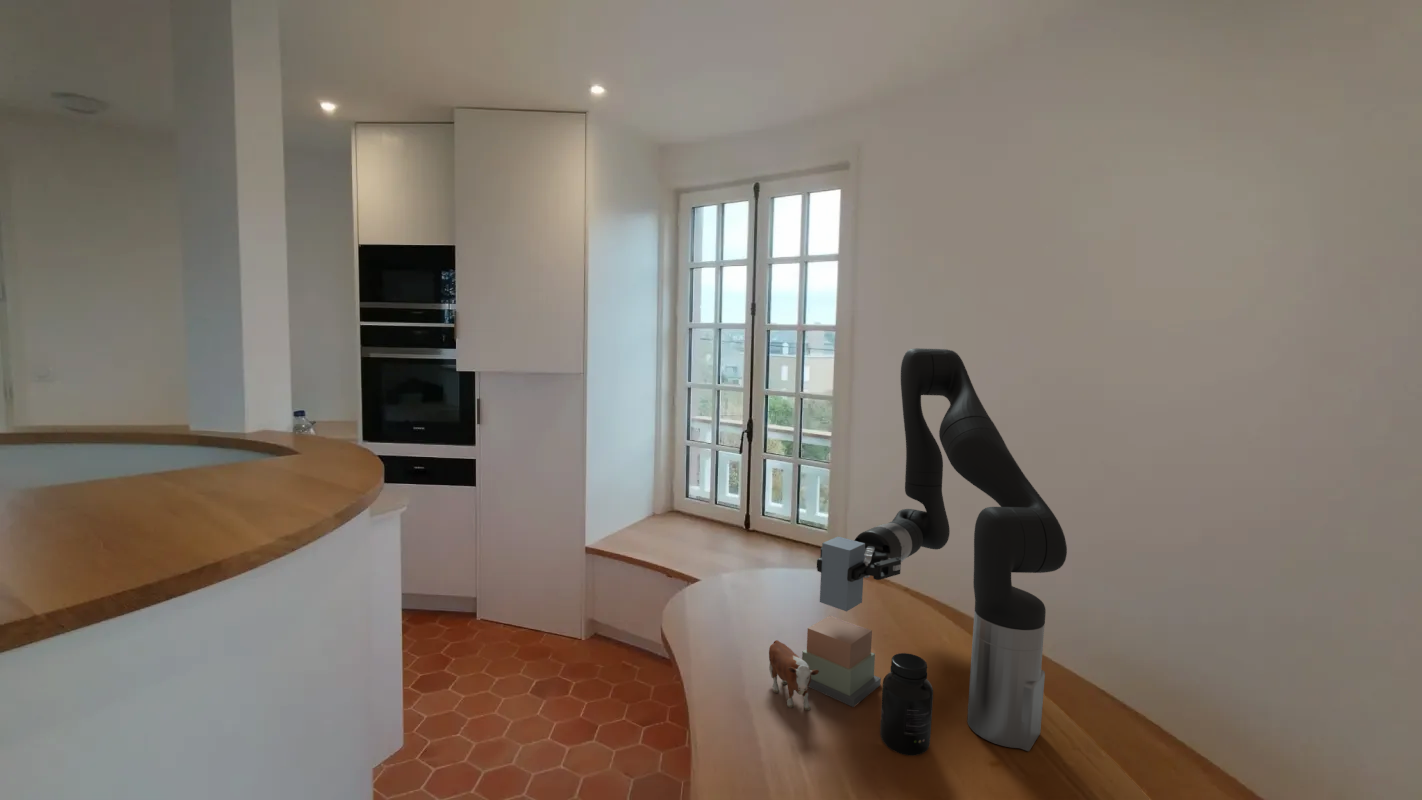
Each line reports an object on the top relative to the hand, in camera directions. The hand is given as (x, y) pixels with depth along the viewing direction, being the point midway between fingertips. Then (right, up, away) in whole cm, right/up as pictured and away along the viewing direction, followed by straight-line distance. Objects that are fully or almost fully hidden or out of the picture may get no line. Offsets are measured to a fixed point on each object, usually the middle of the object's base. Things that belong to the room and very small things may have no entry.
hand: (834, 570), depth 99 cm
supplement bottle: (+8, -21, -12) cm, 25 cm away
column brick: (+2, -6, +3) cm, 7 cm away
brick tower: (+1, -20, +3) cm, 20 cm away
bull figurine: (-7, -20, -2) cm, 21 cm away
